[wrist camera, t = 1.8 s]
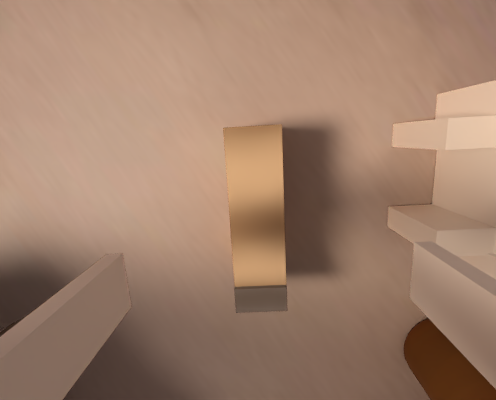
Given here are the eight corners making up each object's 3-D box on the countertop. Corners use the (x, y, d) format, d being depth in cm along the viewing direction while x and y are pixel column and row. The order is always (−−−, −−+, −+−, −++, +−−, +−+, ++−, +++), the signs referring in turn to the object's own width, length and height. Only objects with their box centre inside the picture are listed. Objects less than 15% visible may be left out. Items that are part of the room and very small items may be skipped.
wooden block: (230, 130, 25) (222, 127, 18) (274, 127, 24) (282, 124, 18) (240, 273, 28) (236, 312, 21) (279, 271, 27) (287, 310, 21)
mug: (434, 266, 27) (526, 332, 18) (505, 284, 27) (633, 358, 18) (389, 364, 30) (450, 466, 20) (455, 380, 30) (545, 488, 21)
